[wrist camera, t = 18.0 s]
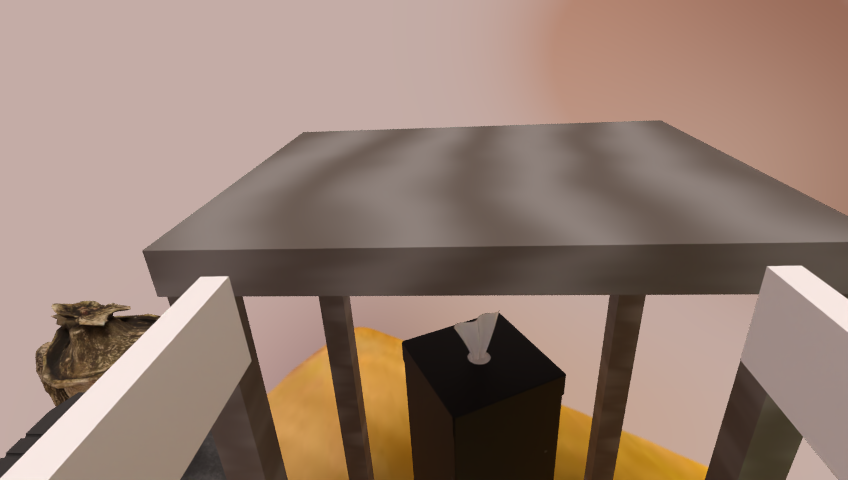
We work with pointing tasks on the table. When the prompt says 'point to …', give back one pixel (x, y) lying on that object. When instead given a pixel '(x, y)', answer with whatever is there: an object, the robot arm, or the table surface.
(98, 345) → the pitcher
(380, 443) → the table surface
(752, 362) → the robot arm
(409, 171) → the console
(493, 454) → the tissue box
